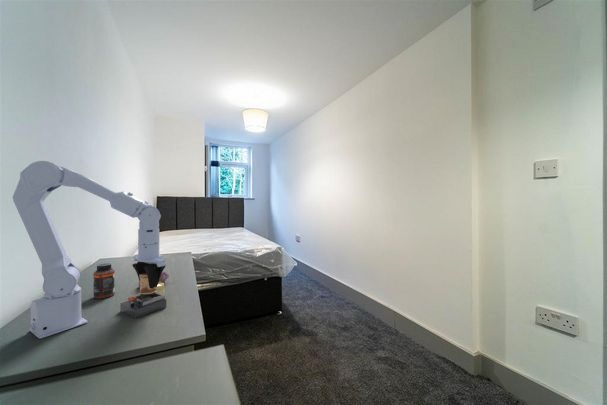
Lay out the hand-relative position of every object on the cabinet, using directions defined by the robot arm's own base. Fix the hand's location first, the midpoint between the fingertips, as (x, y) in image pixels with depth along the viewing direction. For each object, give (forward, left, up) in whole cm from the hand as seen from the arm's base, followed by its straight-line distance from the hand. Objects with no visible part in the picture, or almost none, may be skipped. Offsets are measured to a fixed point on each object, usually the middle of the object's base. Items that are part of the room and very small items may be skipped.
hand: (149, 285), depth 78 cm
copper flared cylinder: (0, 0, -2) cm, 2 cm away
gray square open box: (-2, 0, -7) cm, 7 cm away
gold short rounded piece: (+6, +8, -7) cm, 12 cm away
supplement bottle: (-3, +23, -7) cm, 24 cm away
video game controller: (+12, +19, -7) cm, 24 cm away
